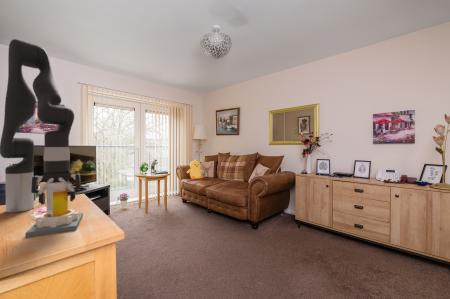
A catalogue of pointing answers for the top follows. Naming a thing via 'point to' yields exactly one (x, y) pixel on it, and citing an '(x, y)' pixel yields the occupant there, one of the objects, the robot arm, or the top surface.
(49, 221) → the gear socket
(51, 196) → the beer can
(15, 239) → the top surface
